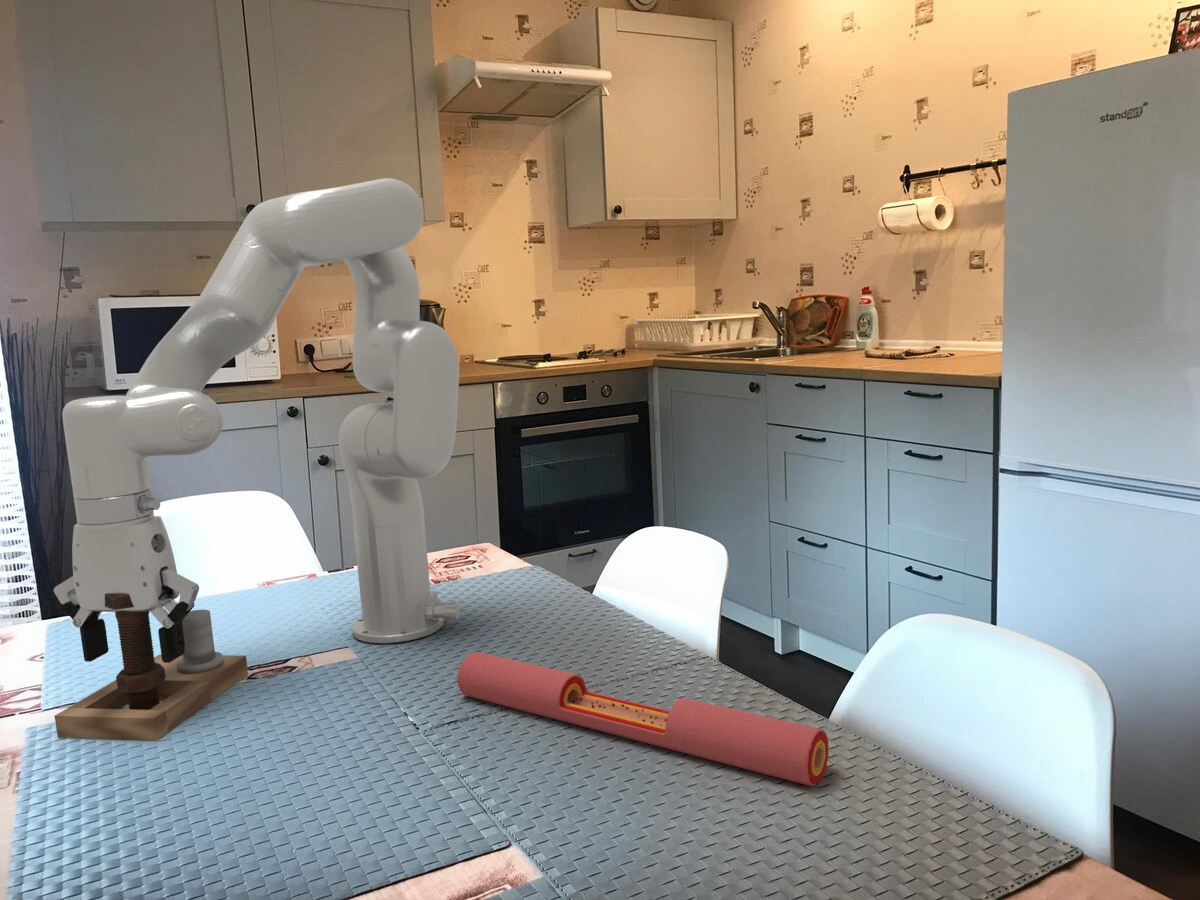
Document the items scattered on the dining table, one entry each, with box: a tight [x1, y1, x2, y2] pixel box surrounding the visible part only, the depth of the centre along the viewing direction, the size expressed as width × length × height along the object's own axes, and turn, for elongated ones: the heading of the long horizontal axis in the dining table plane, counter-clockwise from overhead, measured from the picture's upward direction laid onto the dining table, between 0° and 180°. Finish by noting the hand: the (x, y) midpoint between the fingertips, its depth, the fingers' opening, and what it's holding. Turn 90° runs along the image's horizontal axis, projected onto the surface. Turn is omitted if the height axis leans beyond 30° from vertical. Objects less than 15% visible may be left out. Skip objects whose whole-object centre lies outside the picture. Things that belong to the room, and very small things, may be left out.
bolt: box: [105, 594, 166, 710], centre depth 106 cm, size 6×5×15 cm
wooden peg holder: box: [54, 609, 249, 742], centre depth 109 cm, size 12×18×9 cm, turn 170°
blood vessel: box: [456, 651, 829, 787], centre depth 96 cm, size 42×5×5 cm, turn 55°
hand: (135, 657), depth 106 cm, fingers open, 9 cm apart
